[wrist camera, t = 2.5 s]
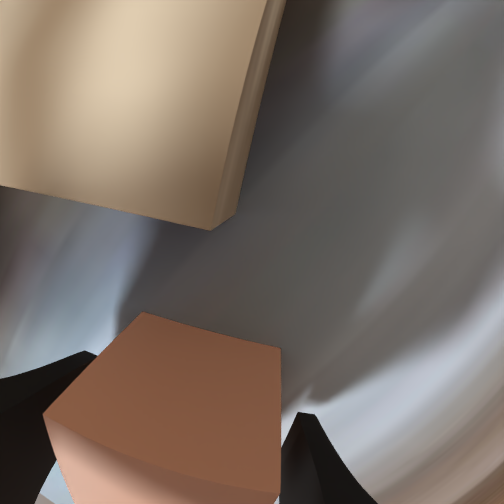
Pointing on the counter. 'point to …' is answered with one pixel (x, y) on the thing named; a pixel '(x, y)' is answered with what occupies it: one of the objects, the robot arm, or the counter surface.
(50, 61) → the birch block
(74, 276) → the counter surface
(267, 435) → the terracotta block
